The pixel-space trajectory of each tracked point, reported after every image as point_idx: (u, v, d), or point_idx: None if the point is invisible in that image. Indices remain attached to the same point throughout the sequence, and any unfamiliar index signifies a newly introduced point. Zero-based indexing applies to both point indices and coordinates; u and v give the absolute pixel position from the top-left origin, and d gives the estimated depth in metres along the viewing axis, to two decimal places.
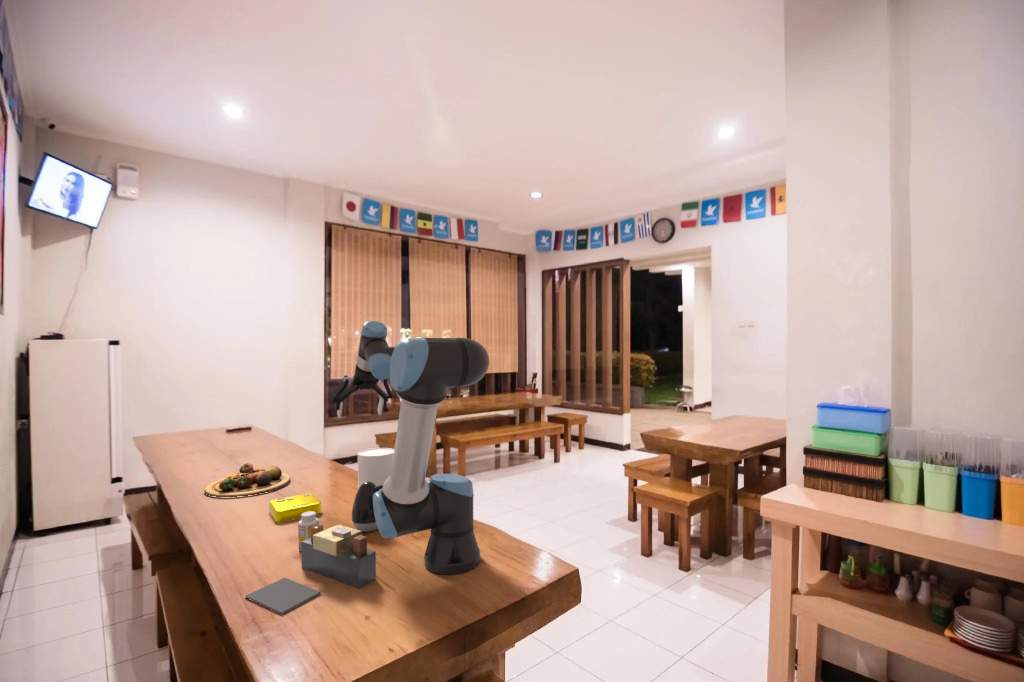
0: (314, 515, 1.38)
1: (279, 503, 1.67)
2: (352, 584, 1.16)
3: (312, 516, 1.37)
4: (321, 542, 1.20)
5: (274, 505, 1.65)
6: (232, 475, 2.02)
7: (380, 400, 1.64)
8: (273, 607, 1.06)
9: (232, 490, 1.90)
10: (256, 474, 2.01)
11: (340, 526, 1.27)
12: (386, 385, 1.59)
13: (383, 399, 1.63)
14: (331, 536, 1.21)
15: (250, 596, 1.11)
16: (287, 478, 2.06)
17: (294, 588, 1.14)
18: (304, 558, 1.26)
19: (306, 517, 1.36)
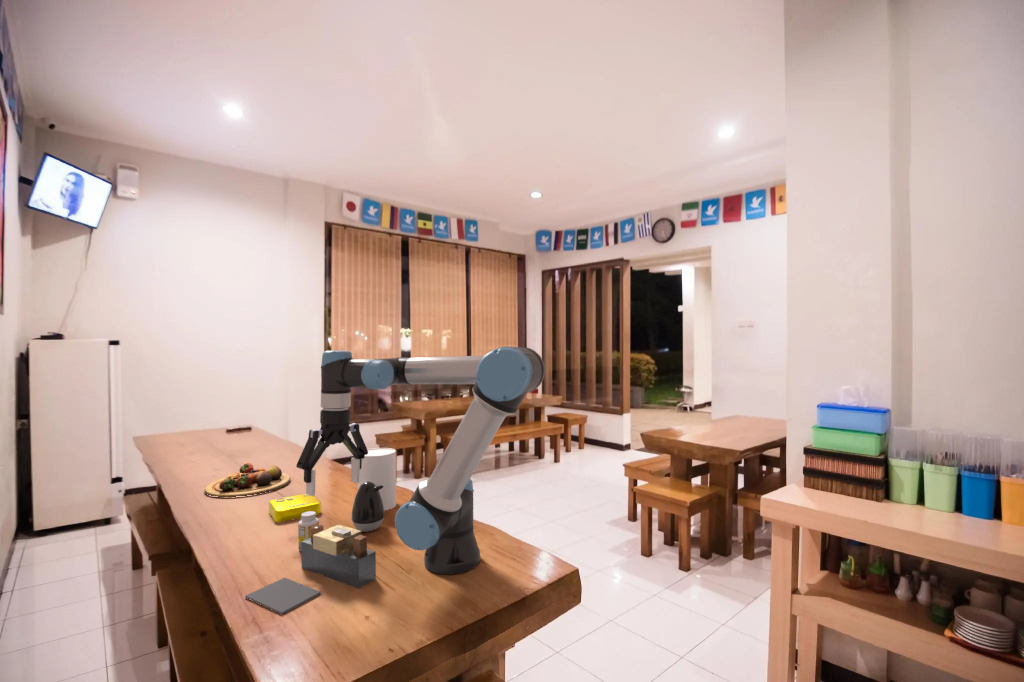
0: (314, 515, 1.38)
1: (279, 502, 1.67)
2: (352, 584, 1.16)
3: (312, 516, 1.37)
4: (321, 542, 1.20)
5: (274, 505, 1.65)
6: (232, 475, 2.02)
7: (353, 462, 1.31)
8: (273, 607, 1.06)
9: (232, 490, 1.90)
10: (256, 474, 2.01)
11: (340, 526, 1.27)
12: (359, 434, 1.31)
13: (357, 458, 1.31)
14: (331, 536, 1.21)
15: (250, 596, 1.11)
16: (287, 478, 2.06)
17: (294, 588, 1.14)
18: (304, 558, 1.26)
19: (306, 517, 1.36)
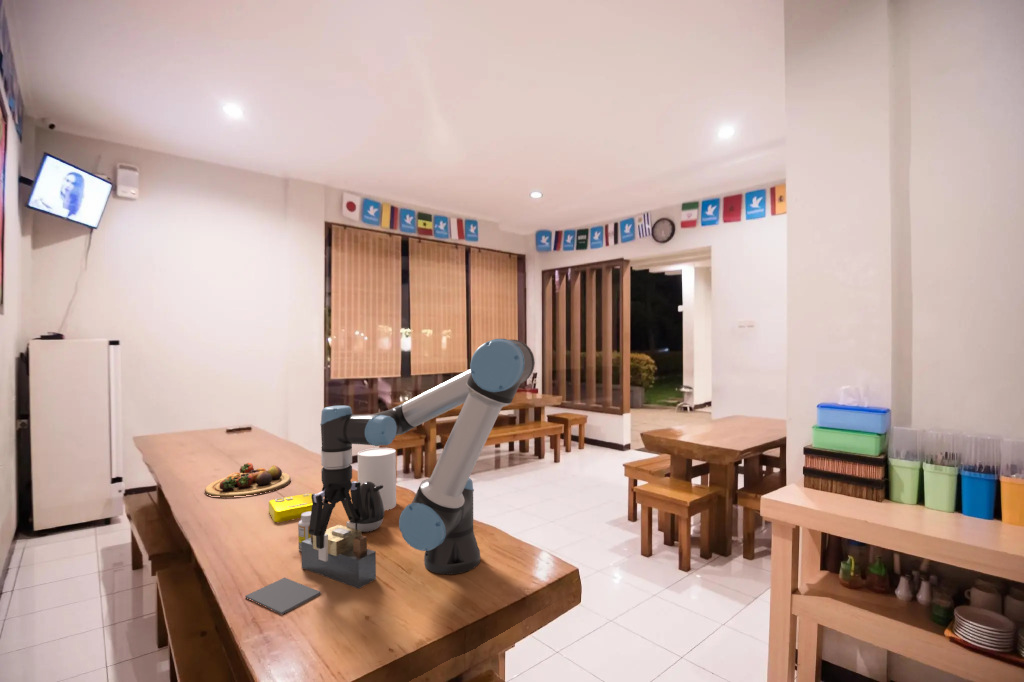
0: None
1: (278, 503, 1.67)
2: (352, 584, 1.16)
3: None
4: None
5: (273, 505, 1.65)
6: (232, 475, 2.02)
7: (349, 526, 1.27)
8: (273, 607, 1.06)
9: (232, 490, 1.91)
10: (256, 474, 2.01)
11: (340, 526, 1.27)
12: (358, 494, 1.28)
13: (353, 522, 1.27)
14: (331, 536, 1.21)
15: (250, 596, 1.11)
16: (287, 478, 2.06)
17: (294, 588, 1.14)
18: (304, 558, 1.26)
19: (306, 517, 1.36)
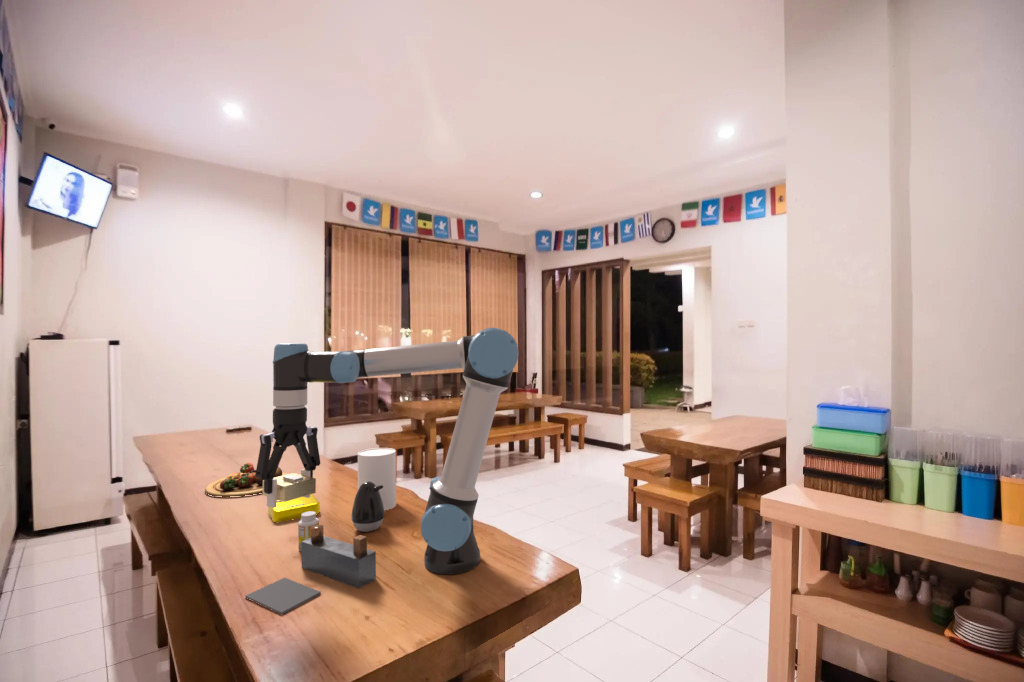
0: (314, 515, 1.38)
1: (278, 503, 1.67)
2: (352, 584, 1.16)
3: (312, 516, 1.37)
4: None
5: None
6: (233, 475, 2.02)
7: (303, 474, 1.17)
8: (273, 607, 1.06)
9: (233, 490, 1.91)
10: None
11: (294, 474, 1.18)
12: (315, 440, 1.19)
13: (308, 470, 1.18)
14: (281, 481, 1.12)
15: (250, 596, 1.11)
16: None
17: (294, 588, 1.14)
18: (304, 558, 1.26)
19: (306, 517, 1.36)
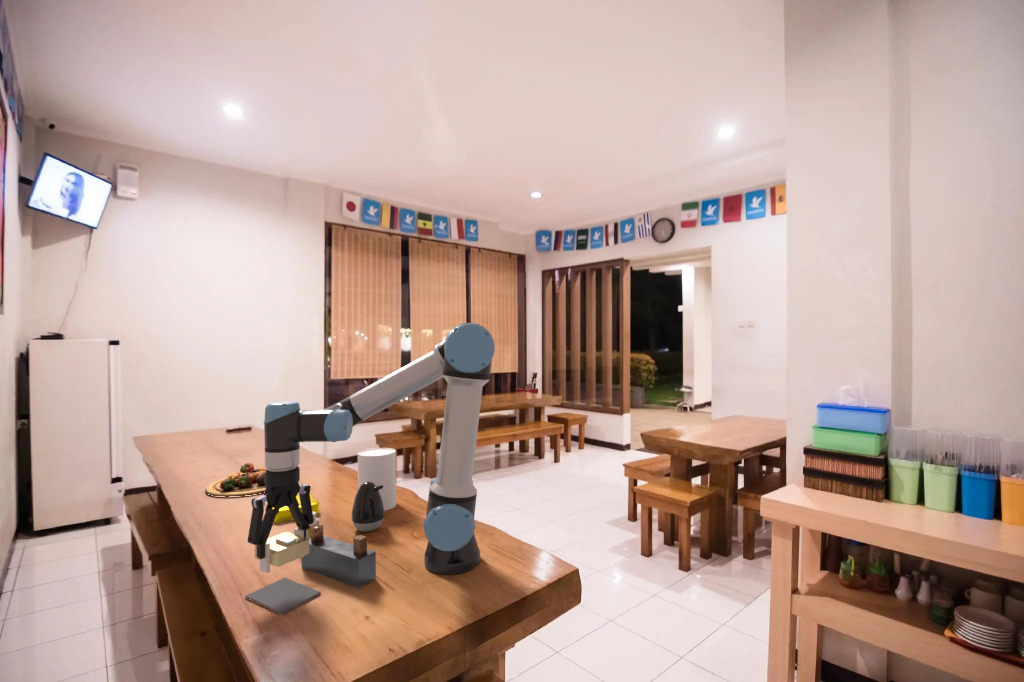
0: (314, 515, 1.38)
1: None
2: (352, 584, 1.16)
3: None
4: None
5: None
6: (233, 475, 2.02)
7: (297, 534, 1.16)
8: (273, 607, 1.06)
9: (233, 490, 1.91)
10: (257, 474, 2.01)
11: (287, 533, 1.16)
12: (308, 498, 1.17)
13: (301, 529, 1.16)
14: (274, 544, 1.10)
15: (250, 596, 1.11)
16: None
17: (294, 588, 1.14)
18: (304, 558, 1.26)
19: None
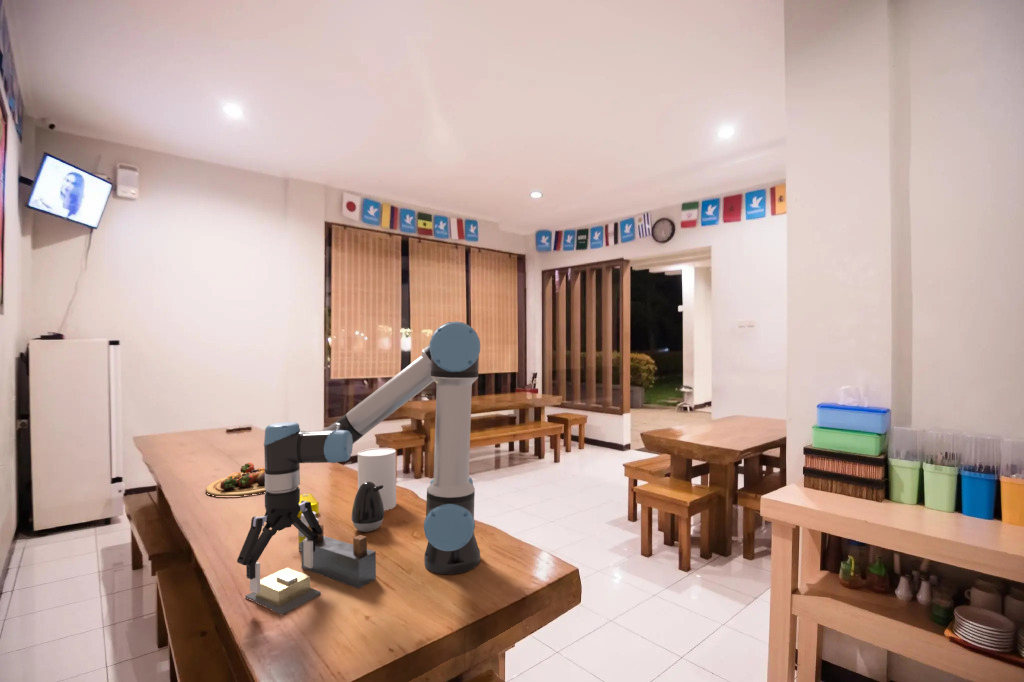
0: None
1: None
2: (352, 584, 1.16)
3: None
4: (264, 591, 1.09)
5: None
6: (233, 475, 2.03)
7: (306, 544, 1.18)
8: (273, 607, 1.06)
9: (233, 489, 1.91)
10: (257, 474, 2.01)
11: (288, 570, 1.16)
12: (311, 513, 1.17)
13: (310, 540, 1.18)
14: (275, 583, 1.10)
15: (250, 596, 1.11)
16: None
17: None
18: None
19: None
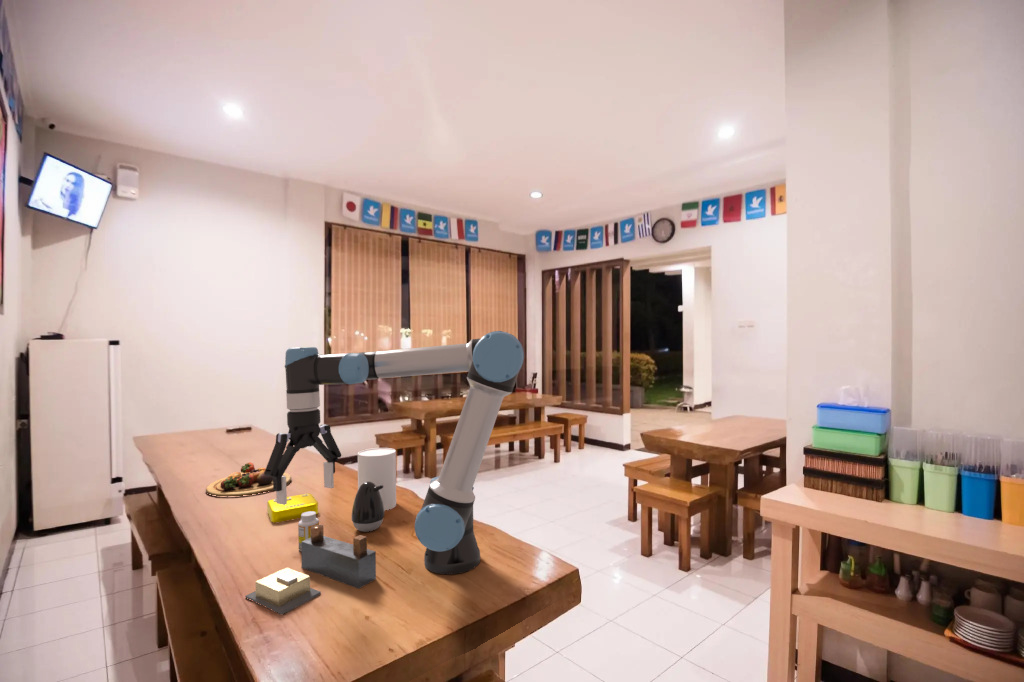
0: (314, 515, 1.38)
1: None
2: (352, 584, 1.16)
3: (312, 516, 1.37)
4: (264, 591, 1.09)
5: (271, 505, 1.65)
6: (233, 474, 2.03)
7: (326, 466, 1.23)
8: (273, 607, 1.06)
9: (233, 489, 1.91)
10: (257, 473, 2.01)
11: (288, 570, 1.16)
12: (330, 436, 1.23)
13: (330, 462, 1.23)
14: (275, 583, 1.10)
15: (250, 596, 1.11)
16: (288, 477, 2.06)
17: None
18: (304, 558, 1.26)
19: (306, 517, 1.36)
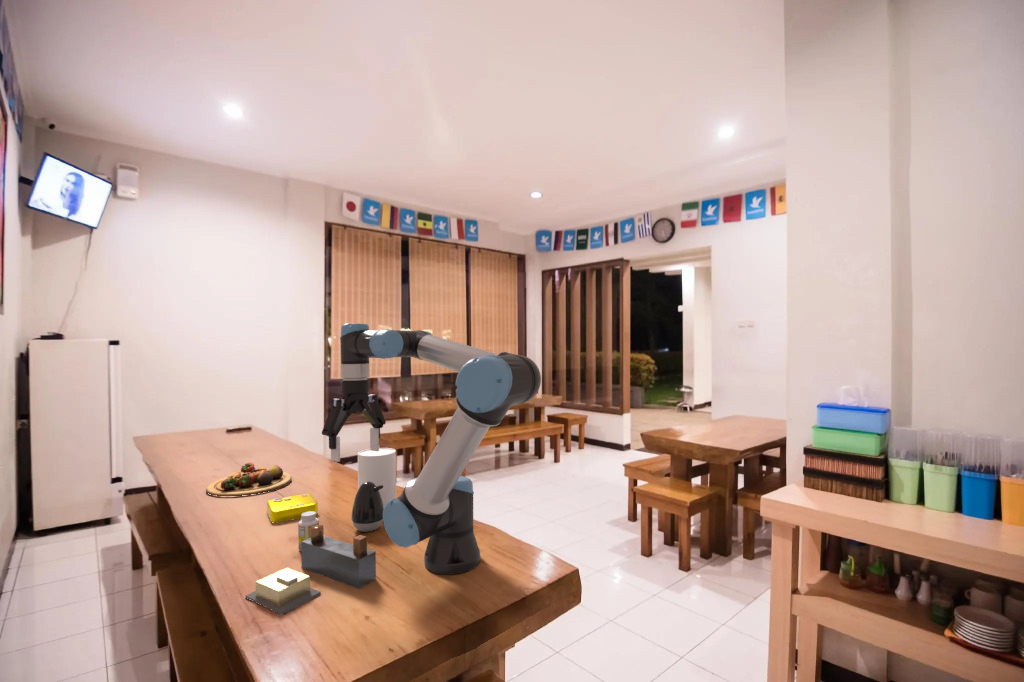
0: (314, 515, 1.38)
1: (276, 503, 1.67)
2: (352, 584, 1.16)
3: (312, 516, 1.37)
4: (264, 591, 1.09)
5: (271, 505, 1.64)
6: (234, 474, 2.03)
7: (372, 431, 1.37)
8: (273, 607, 1.06)
9: (234, 489, 1.91)
10: (257, 473, 2.02)
11: (288, 570, 1.16)
12: (377, 404, 1.37)
13: (376, 428, 1.37)
14: (275, 583, 1.10)
15: (250, 596, 1.11)
16: (288, 477, 2.07)
17: None
18: (304, 558, 1.26)
19: (306, 517, 1.36)
